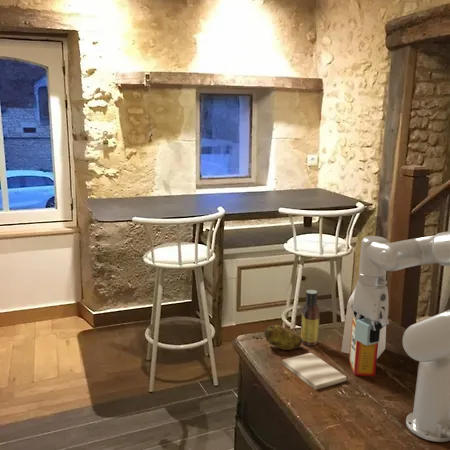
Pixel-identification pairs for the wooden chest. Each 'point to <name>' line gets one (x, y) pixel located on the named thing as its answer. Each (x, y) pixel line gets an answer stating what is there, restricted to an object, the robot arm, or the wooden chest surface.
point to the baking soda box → (362, 356)
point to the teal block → (364, 331)
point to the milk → (349, 326)
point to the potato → (282, 337)
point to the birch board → (313, 371)
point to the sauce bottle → (310, 319)
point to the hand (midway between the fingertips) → (367, 337)
